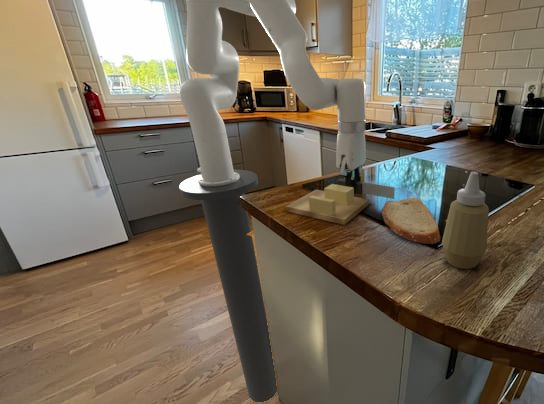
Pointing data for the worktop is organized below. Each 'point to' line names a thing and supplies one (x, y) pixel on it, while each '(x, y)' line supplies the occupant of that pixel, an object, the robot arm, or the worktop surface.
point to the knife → (371, 189)
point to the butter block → (340, 194)
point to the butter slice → (322, 205)
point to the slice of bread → (411, 220)
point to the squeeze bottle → (466, 226)
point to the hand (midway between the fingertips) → (353, 189)
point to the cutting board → (342, 211)
